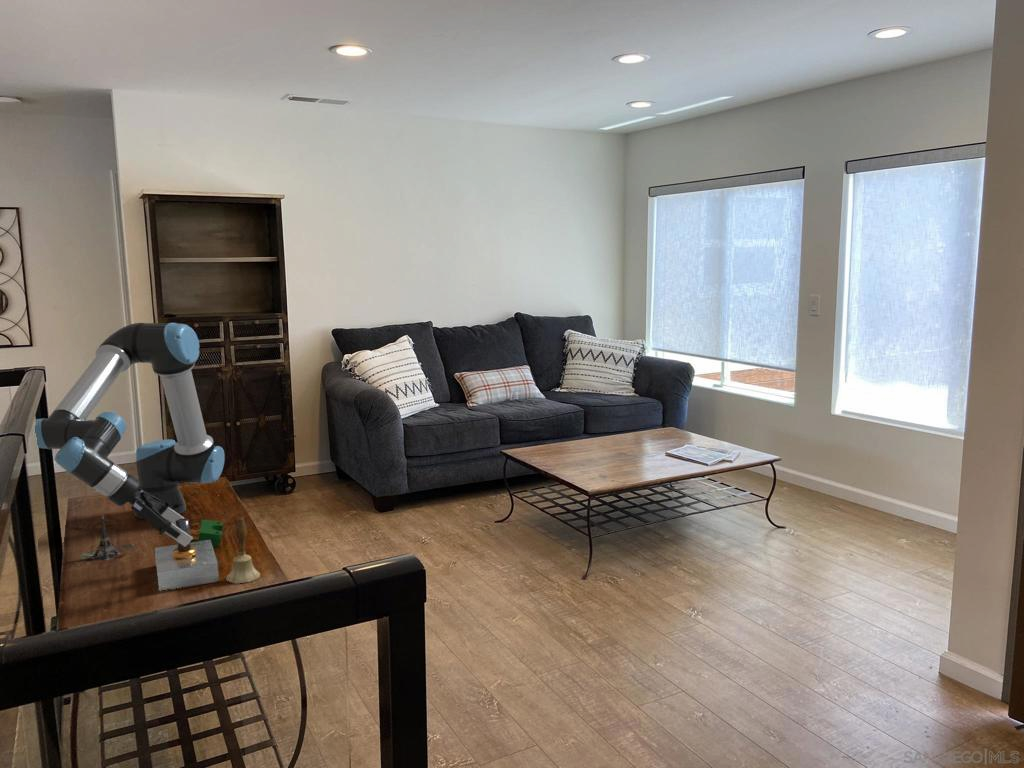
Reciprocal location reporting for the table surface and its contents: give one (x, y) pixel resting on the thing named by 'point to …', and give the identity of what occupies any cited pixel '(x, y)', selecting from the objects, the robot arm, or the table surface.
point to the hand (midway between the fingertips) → (186, 533)
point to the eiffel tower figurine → (104, 547)
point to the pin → (181, 551)
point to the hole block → (186, 566)
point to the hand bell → (242, 559)
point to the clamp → (211, 532)
